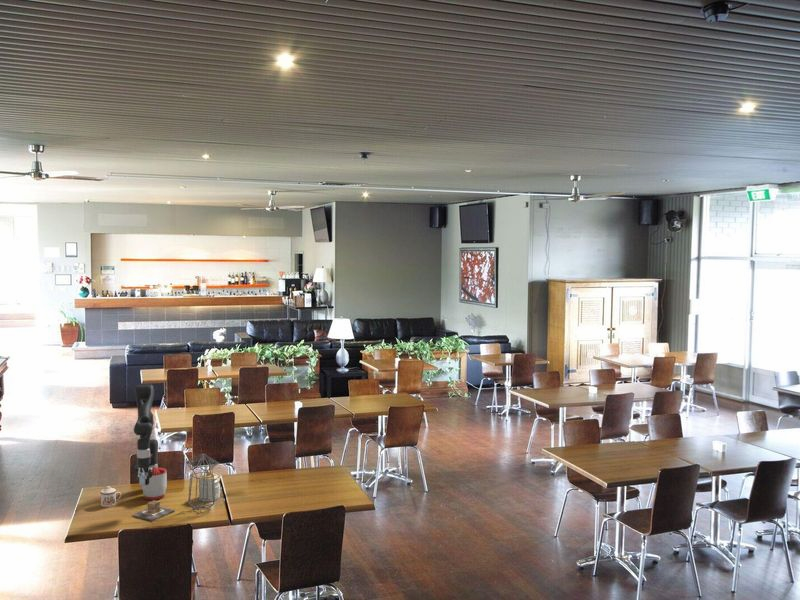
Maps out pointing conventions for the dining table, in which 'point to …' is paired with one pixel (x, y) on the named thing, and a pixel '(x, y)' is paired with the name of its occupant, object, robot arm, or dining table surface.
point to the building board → (153, 517)
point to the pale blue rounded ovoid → (142, 480)
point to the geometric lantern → (201, 478)
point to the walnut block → (153, 507)
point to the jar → (209, 486)
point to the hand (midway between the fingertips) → (143, 483)
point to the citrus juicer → (156, 484)
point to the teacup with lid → (109, 497)
